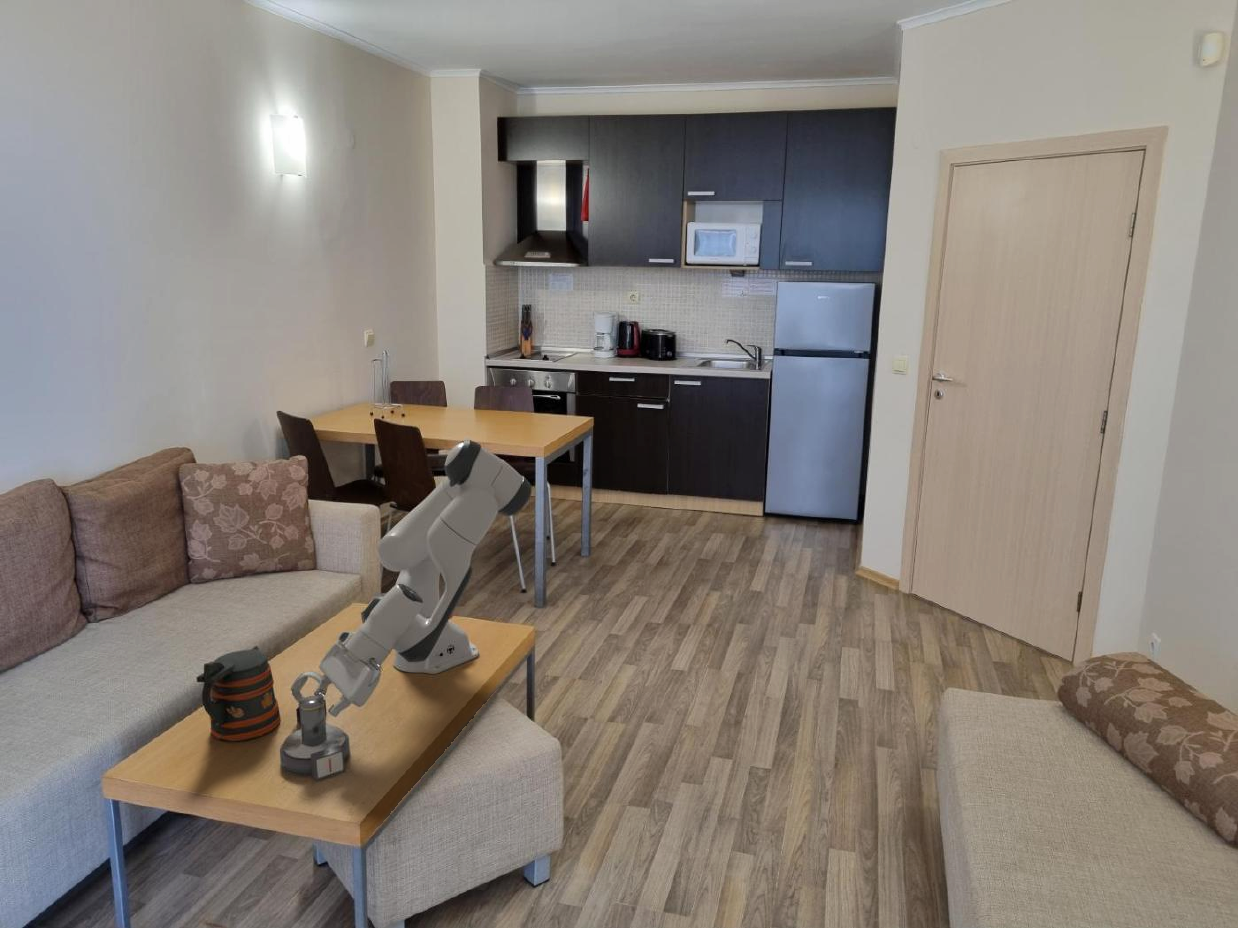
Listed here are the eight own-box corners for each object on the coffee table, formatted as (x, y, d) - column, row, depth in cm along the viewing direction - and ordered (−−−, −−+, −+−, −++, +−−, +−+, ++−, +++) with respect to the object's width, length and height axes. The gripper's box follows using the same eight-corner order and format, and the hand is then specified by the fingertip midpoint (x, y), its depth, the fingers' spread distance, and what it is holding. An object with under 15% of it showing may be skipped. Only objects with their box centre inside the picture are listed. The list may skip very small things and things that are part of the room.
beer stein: (245, 756, 188) (236, 670, 183) (184, 749, 190) (174, 665, 186) (292, 713, 206) (286, 634, 202) (236, 707, 209) (228, 629, 204)
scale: (336, 733, 197) (335, 713, 196) (364, 765, 185) (362, 744, 183) (272, 753, 189) (270, 732, 188) (296, 788, 176) (294, 766, 175)
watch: (301, 709, 208) (298, 666, 206) (333, 712, 207) (330, 669, 204) (289, 720, 203) (285, 677, 200) (321, 723, 201) (318, 679, 199)
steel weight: (322, 731, 190) (319, 693, 188) (330, 741, 186) (327, 702, 184) (298, 738, 187) (295, 700, 185) (306, 748, 183) (303, 709, 181)
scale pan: (333, 722, 196) (333, 719, 195) (354, 746, 186) (354, 743, 186) (275, 740, 188) (275, 736, 188) (294, 766, 178) (293, 762, 178)
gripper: (395, 675, 184) (352, 732, 180) (359, 642, 200) (319, 693, 196) (373, 661, 180) (329, 719, 177) (338, 628, 196) (298, 680, 193)
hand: (324, 705), depth 187 cm, fingers open, 8 cm apart
